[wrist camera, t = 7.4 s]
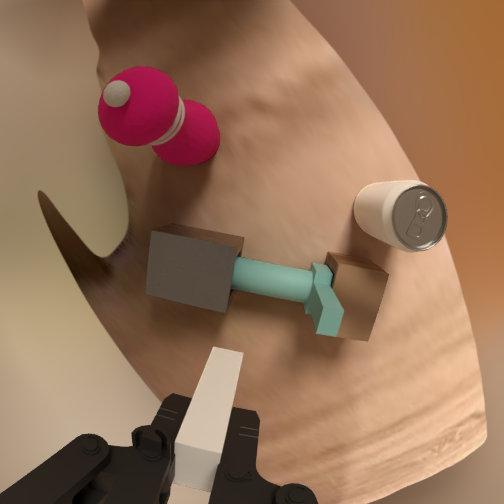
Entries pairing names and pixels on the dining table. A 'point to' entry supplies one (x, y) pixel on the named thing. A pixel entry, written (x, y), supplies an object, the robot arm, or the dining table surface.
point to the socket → (356, 293)
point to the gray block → (192, 266)
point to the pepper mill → (157, 117)
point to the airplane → (293, 289)
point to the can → (402, 214)
